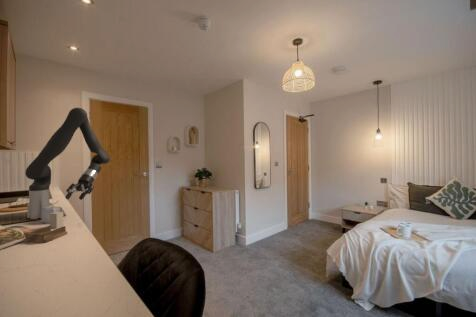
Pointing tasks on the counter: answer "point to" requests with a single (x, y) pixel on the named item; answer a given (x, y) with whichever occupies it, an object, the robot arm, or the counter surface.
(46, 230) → the slot stand
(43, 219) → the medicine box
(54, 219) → the clay bar
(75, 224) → the counter surface
